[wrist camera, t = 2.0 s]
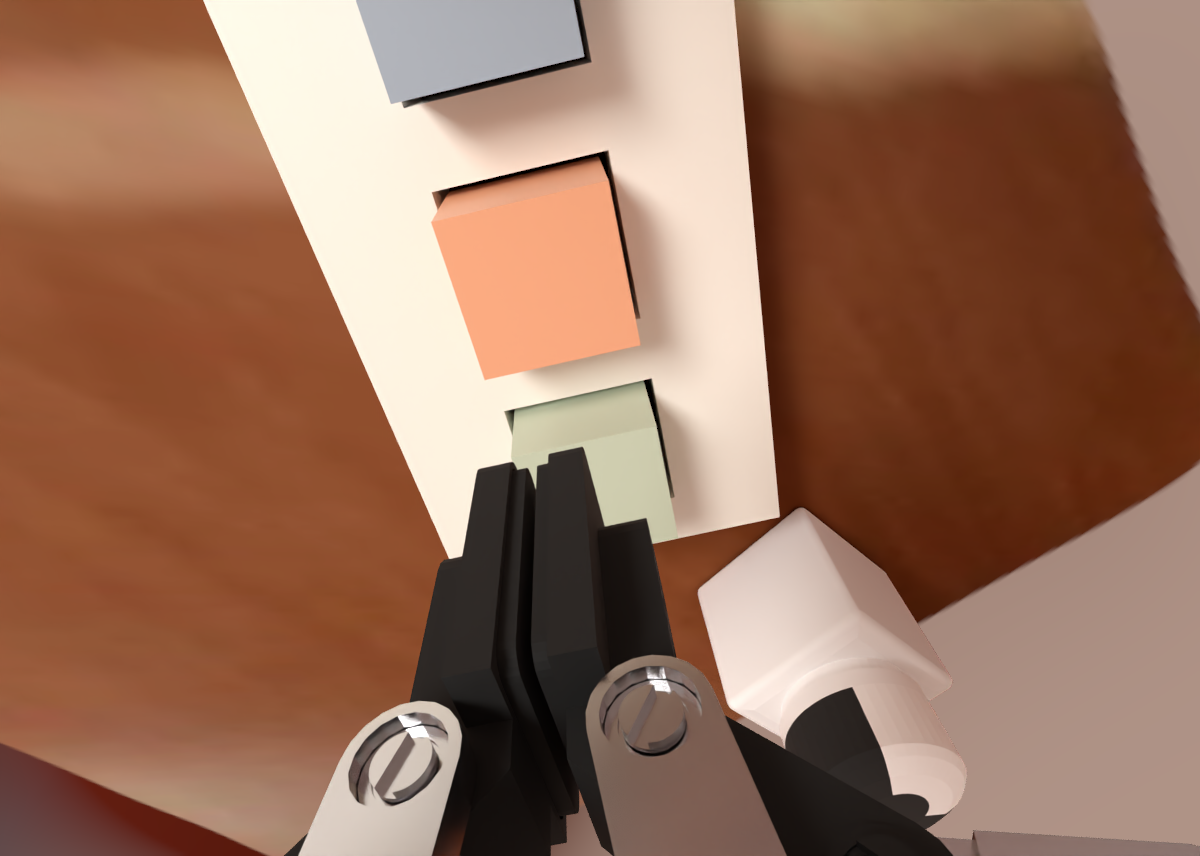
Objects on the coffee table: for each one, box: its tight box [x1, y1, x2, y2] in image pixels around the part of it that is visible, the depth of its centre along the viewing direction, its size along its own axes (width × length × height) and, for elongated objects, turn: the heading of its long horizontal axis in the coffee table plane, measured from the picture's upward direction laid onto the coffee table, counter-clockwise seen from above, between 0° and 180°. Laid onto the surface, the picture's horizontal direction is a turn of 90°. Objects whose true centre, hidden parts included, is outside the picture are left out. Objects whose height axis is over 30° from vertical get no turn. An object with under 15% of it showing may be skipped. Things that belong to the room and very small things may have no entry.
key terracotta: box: [431, 156, 641, 380], centre depth 21 cm, size 5×5×4 cm
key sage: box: [511, 380, 678, 543], centre depth 25 cm, size 5×5×4 cm
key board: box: [203, 0, 780, 559], centre depth 23 cm, size 26×14×3 cm, turn 12°
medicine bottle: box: [698, 508, 967, 829], centre depth 29 cm, size 7×7×12 cm
